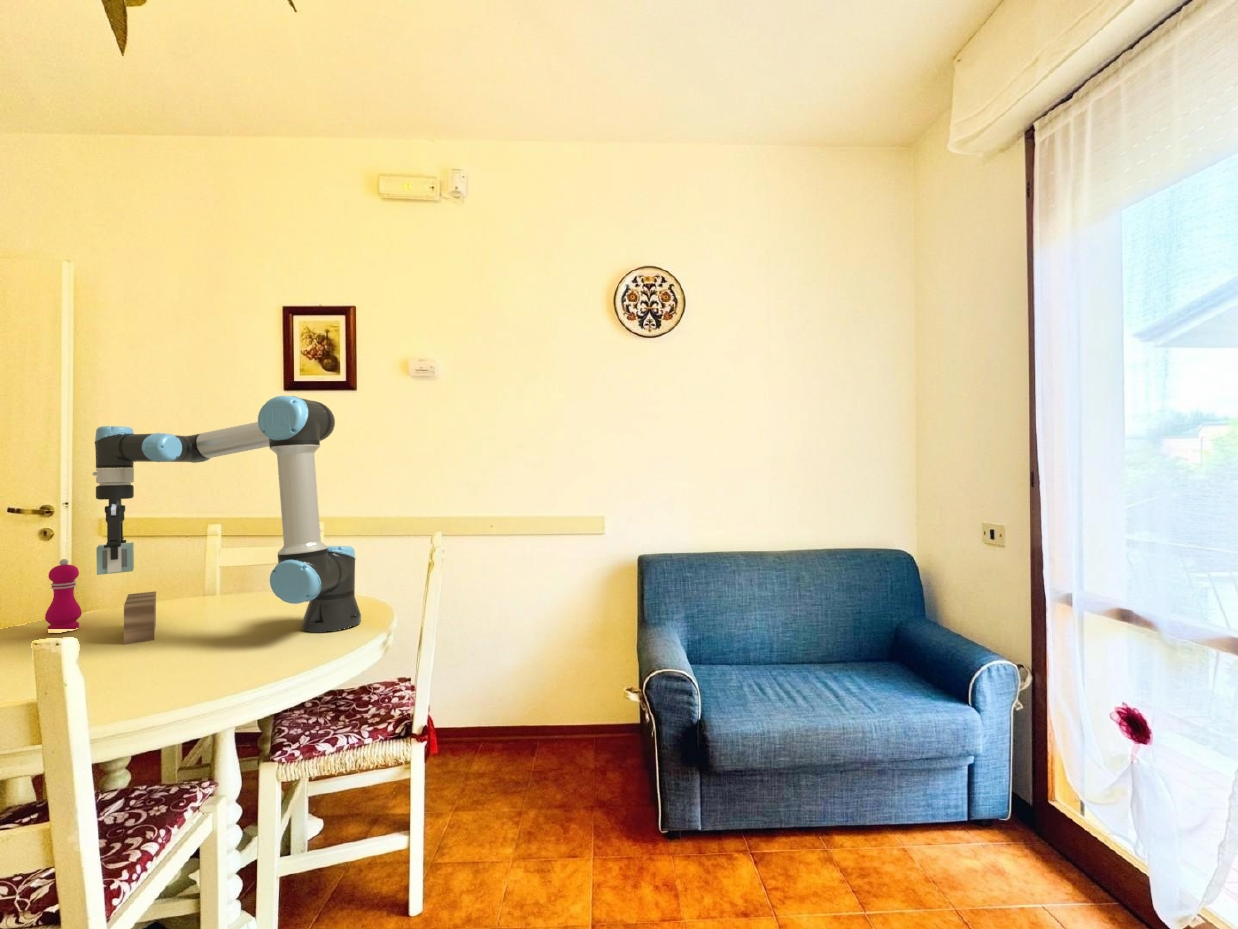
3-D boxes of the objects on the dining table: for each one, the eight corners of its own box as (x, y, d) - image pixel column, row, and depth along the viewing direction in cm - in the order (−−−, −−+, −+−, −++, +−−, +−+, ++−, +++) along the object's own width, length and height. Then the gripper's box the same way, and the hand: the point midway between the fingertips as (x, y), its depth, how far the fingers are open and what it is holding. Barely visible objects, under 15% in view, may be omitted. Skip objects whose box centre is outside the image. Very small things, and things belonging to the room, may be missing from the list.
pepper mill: (81, 625, 159) (82, 556, 159) (81, 630, 154) (82, 559, 154) (45, 630, 154) (45, 559, 154) (44, 636, 149) (44, 562, 149)
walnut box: (154, 640, 146) (154, 602, 146) (123, 644, 143) (123, 605, 143) (155, 626, 159) (156, 591, 159) (127, 630, 155) (128, 594, 155)
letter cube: (132, 571, 147) (132, 545, 147) (96, 575, 143) (96, 548, 143) (133, 567, 153) (133, 542, 153) (99, 571, 148) (98, 545, 148)
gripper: (99, 484, 153) (99, 566, 153) (91, 485, 138) (92, 577, 138) (135, 483, 158) (135, 563, 158) (131, 484, 142) (132, 573, 142)
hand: (115, 569), depth 148 cm, fingers closed on letter cube, 7 cm apart
